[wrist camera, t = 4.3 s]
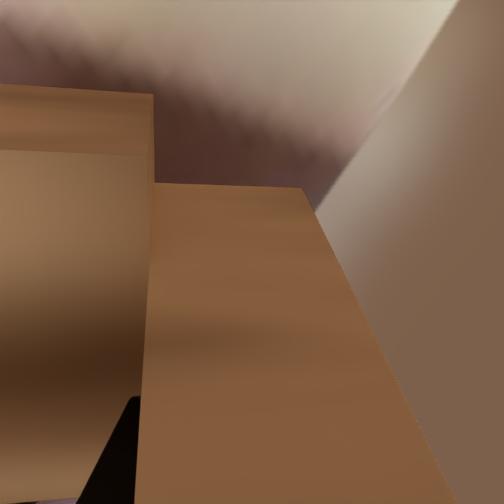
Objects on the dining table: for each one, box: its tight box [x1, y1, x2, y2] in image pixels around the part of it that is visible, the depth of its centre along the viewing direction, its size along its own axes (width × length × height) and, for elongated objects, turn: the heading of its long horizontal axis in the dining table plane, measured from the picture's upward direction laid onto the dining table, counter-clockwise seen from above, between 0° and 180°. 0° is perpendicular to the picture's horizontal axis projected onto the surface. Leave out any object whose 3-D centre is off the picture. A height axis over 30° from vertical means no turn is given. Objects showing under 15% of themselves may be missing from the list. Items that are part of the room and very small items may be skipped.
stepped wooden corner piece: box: [0, 83, 457, 504], centre depth 8 cm, size 10×8×9 cm
